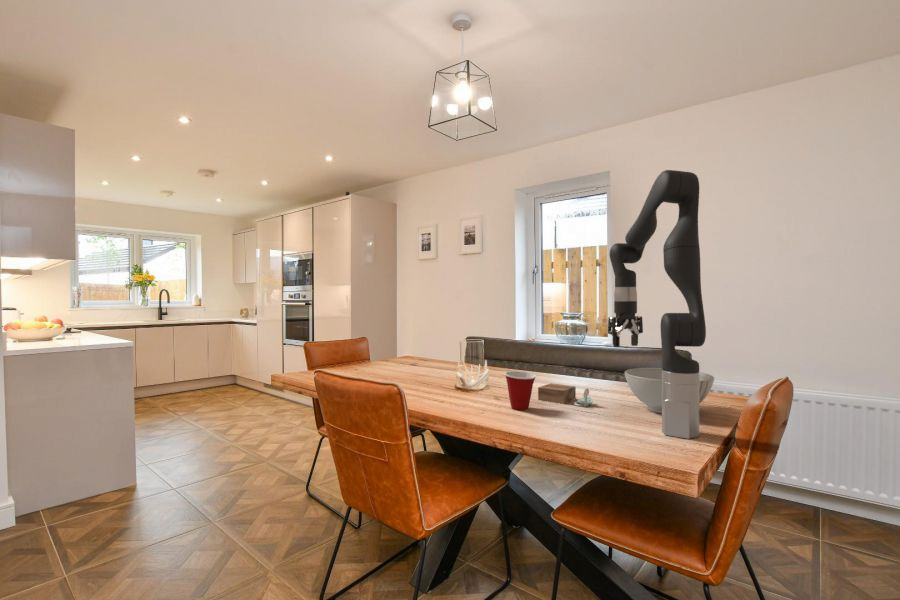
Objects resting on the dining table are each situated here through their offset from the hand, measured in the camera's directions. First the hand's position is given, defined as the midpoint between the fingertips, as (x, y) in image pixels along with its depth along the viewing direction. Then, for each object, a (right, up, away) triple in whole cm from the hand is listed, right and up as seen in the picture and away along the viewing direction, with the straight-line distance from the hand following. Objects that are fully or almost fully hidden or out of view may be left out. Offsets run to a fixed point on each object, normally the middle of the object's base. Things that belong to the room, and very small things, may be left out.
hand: (625, 346), depth 159 cm
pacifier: (-15, -21, 0) cm, 26 cm away
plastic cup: (-38, -21, -5) cm, 44 cm away
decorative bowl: (+11, -21, -8) cm, 25 cm away
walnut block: (-22, -21, +8) cm, 32 cm away
